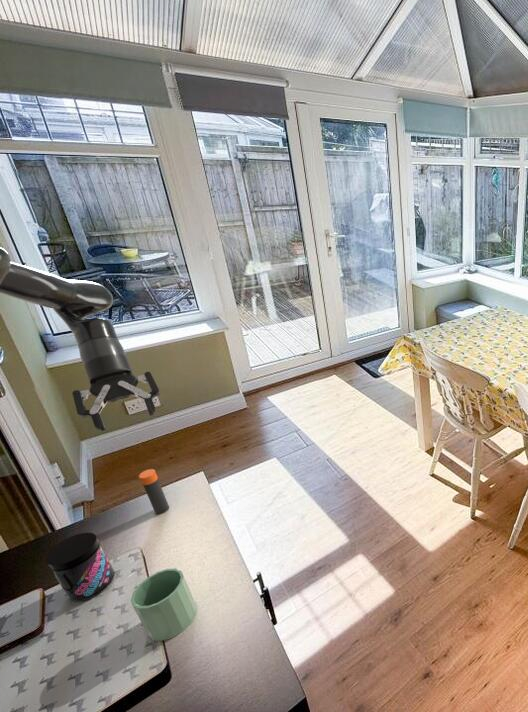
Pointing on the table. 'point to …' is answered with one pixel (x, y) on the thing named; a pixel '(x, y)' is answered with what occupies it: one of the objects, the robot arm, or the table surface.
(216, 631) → the table surface
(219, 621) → the table surface
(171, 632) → the tumbler
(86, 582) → the supplement container
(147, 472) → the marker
